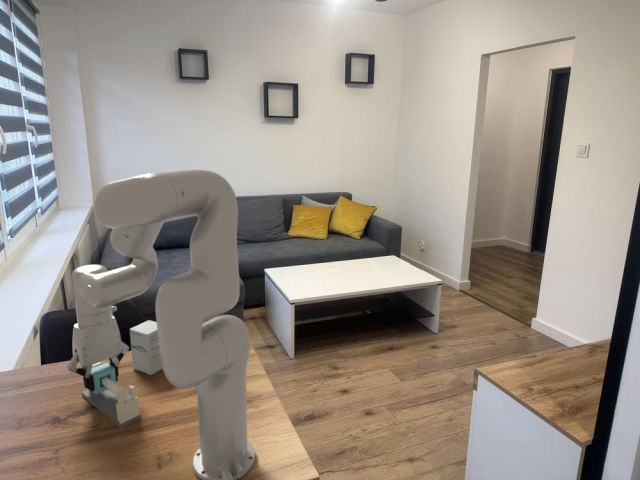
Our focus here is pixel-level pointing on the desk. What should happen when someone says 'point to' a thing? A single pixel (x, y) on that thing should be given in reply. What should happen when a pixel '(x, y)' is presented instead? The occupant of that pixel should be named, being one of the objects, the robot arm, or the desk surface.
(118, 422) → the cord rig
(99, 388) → the sleeve
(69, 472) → the desk surface
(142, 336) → the supplement box
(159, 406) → the desk surface
